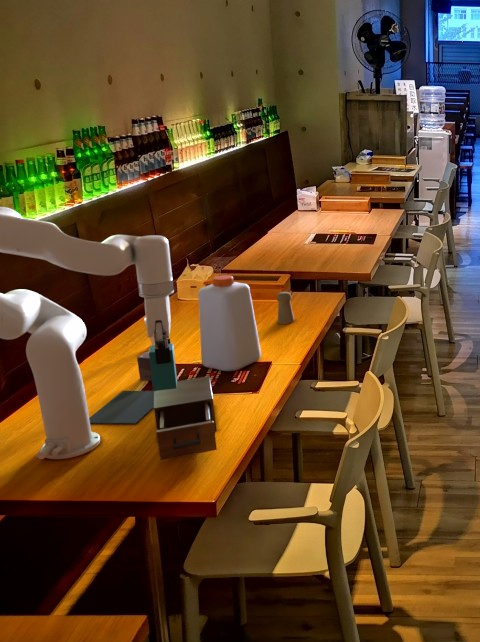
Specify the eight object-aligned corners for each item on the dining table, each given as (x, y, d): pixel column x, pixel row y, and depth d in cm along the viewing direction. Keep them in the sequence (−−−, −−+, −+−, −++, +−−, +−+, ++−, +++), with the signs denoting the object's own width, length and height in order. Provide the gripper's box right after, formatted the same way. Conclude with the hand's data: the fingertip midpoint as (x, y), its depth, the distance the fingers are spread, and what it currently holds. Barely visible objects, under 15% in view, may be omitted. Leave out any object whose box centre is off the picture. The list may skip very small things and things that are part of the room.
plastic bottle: (267, 357, 234) (259, 274, 226) (232, 374, 221) (222, 286, 213) (231, 350, 240) (222, 268, 233) (196, 366, 227) (185, 280, 219)
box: (157, 381, 216) (154, 358, 214) (139, 380, 217) (136, 357, 215) (170, 373, 222) (167, 351, 220) (152, 372, 223) (149, 349, 221)
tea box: (176, 388, 178) (172, 350, 175) (153, 391, 176) (148, 352, 174) (177, 380, 183) (173, 343, 180) (154, 383, 181) (150, 345, 178)
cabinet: (216, 431, 186) (212, 398, 183) (158, 441, 180) (153, 408, 178) (213, 406, 199) (209, 376, 197) (159, 415, 194) (154, 384, 192)
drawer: (217, 457, 171) (214, 429, 169) (160, 469, 166) (156, 440, 164) (213, 424, 187) (210, 398, 185) (160, 433, 183) (157, 407, 181)
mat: (136, 424, 189) (136, 423, 189) (83, 424, 190) (83, 422, 189) (171, 392, 209) (171, 390, 208) (123, 392, 209) (122, 390, 209)
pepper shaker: (274, 322, 267) (271, 294, 264) (283, 317, 272) (281, 289, 270) (288, 324, 265) (286, 295, 262) (297, 319, 271) (295, 291, 268)
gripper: (140, 279, 179) (149, 348, 184) (136, 299, 164) (145, 373, 169) (173, 277, 182) (181, 345, 187) (172, 295, 167) (180, 369, 171)
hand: (164, 358), depth 178 cm, fingers closed on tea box, 5 cm apart
